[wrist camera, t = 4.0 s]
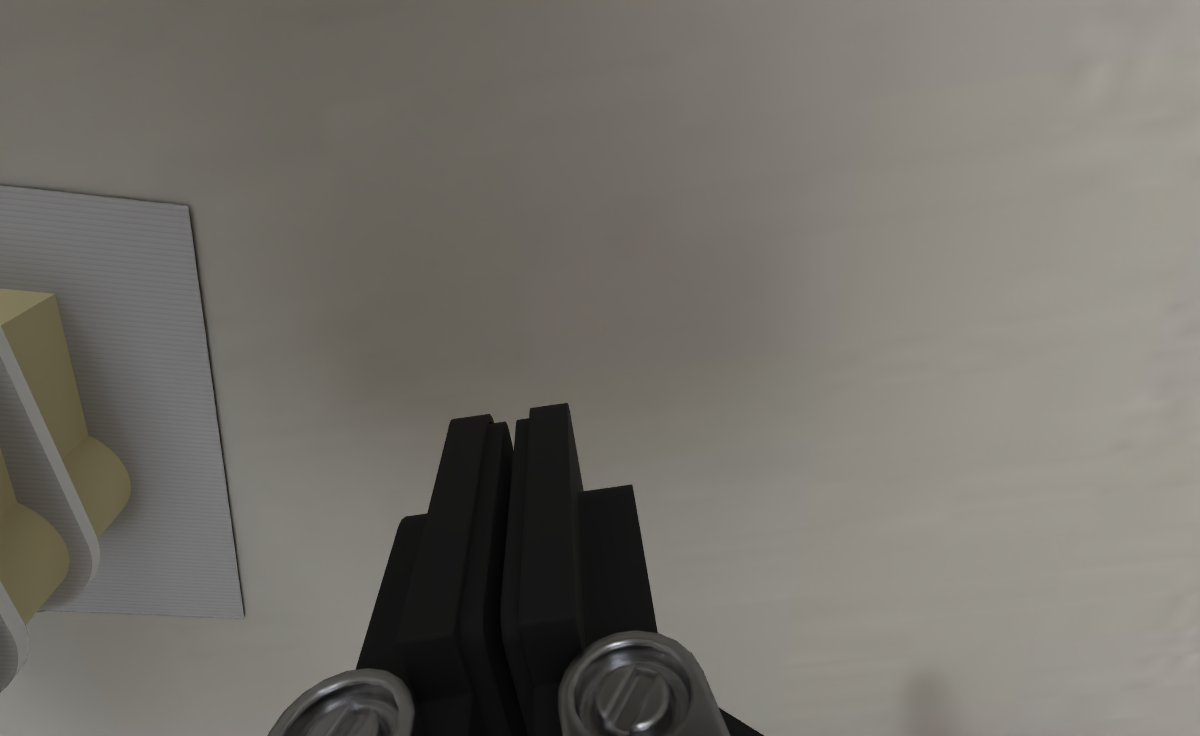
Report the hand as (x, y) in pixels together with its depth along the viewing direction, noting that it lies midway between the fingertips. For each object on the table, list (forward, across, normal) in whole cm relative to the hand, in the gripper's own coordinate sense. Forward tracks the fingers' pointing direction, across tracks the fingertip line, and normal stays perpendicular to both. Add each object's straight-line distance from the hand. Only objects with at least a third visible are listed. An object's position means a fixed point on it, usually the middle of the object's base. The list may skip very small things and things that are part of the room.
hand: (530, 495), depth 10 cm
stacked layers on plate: (+4, +11, 0) cm, 12 cm away
